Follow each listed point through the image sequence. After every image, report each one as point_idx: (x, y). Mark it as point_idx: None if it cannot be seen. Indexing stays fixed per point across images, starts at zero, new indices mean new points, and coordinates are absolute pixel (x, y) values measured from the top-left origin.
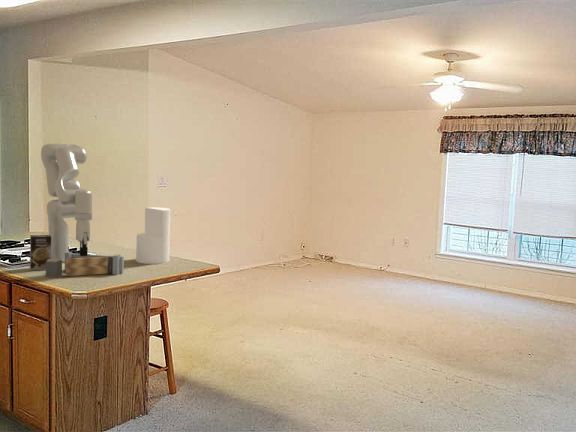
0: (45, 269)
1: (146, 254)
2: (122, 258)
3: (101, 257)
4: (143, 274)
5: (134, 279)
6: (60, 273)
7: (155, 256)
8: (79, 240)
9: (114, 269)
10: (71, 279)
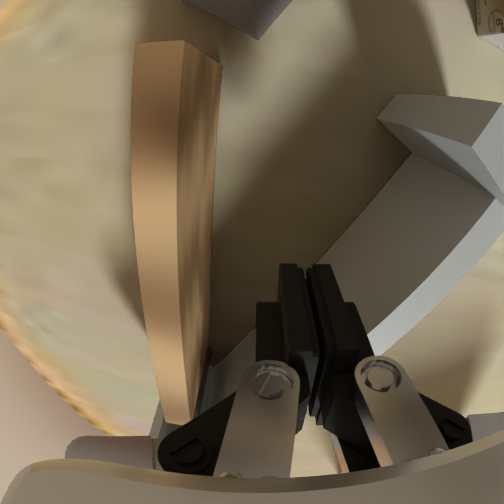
0: (476, 4)
1: None
2: None
3: (177, 401)
4: None
5: (80, 380)
6: (235, 23)
7: None
8: (21, 473)
9: None
10: (86, 102)
